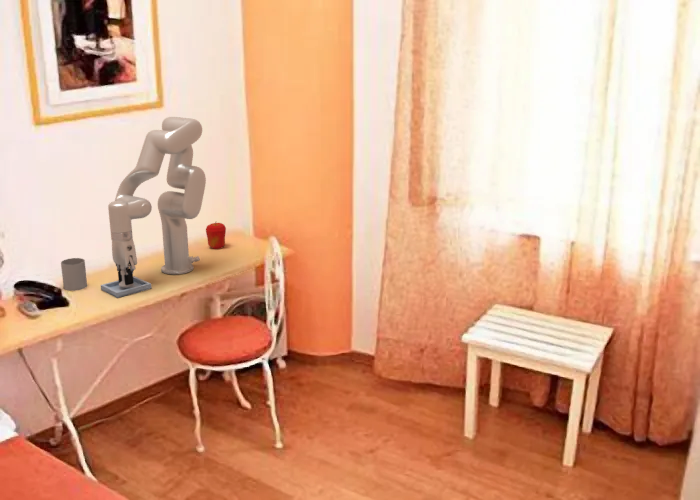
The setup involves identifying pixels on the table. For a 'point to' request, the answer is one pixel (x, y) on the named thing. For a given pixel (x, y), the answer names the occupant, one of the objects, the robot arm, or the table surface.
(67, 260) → the cup
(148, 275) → the table surface
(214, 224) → the apple
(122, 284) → the chess piece
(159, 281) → the table surface
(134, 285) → the tray
